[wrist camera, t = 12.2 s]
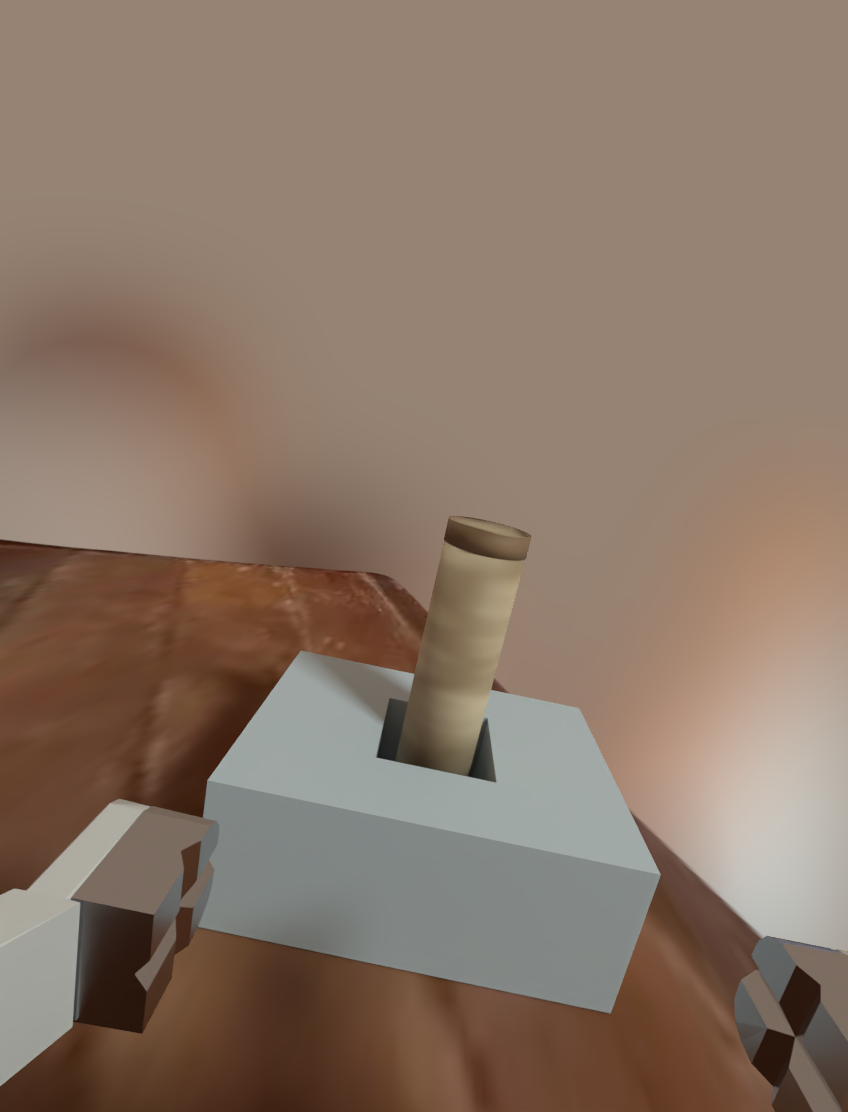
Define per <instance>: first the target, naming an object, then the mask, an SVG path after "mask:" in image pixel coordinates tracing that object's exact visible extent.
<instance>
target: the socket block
mask: <svg viewBox="0 0 848 1112" xmlns="http://www.w3.org/2000/svg"><path fill="white" fill-rule="evenodd" d="M413 678H414V674H411V673H406V672H401V671H397V670H392V669H387V668H382V667H377V666H372V665H368V664H363V663H358V662H353V661H348V660H343V659H339V658H334V657H329V656H324V655H319V654H314V653H310V652H305V651H300V653H299V654H298V655H297V657H296V658H295V659H294V661H293V662H292V664H291V665H290V666H289V668H288V669H287V671H286V672H285V673H284V675H283V676H282V677H281V679H280V680H279V682H278V683H277V684H276V686H275V687H274V689H273V690H272V691H271V693H270V694H269V696H268V697H267V698H266V700H265V701H264V702H263V704H262V705H261V707H260V708H259V709H258V711H257V712H256V714H255V715H254V716H253V718H252V719H251V721H250V722H249V723H248V725H247V726H246V727H245V729H244V730H243V732H242V733H241V734H240V736H239V737H238V739H237V740H236V741H235V743H234V744H233V746H232V747H231V748H230V750H229V751H228V752H227V754H226V755H225V757H224V758H223V759H222V761H221V762H220V764H219V765H218V766H217V768H216V769H215V771H214V772H213V773H212V775H211V776H210V777H209V779H208V780H207V788H206V796H205V805H204V813H203V818H205V819H209V820H214V821H217V823H218V824H219V836H218V844H217V846H216V848H215V850H214V851H213V853H212V855H211V857H210V858H209V861H210V863H211V864H212V866H213V868H214V876H213V883H212V887H211V891H210V895H209V899H208V902H207V905H206V908H205V910H204V913H203V915H202V918H201V921H200V923H199V926H198V927H201V928H206V929H210V930H215V931H220V932H225V933H230V934H234V935H239V936H244V937H249V938H253V939H258V940H263V941H268V942H272V943H277V944H282V945H287V946H291V947H296V948H301V949H306V950H311V951H315V952H320V953H325V954H330V955H334V956H339V957H344V958H349V959H353V960H358V961H363V962H368V963H372V964H377V965H382V966H387V967H392V968H396V969H401V970H406V971H411V972H415V973H420V974H425V975H430V976H434V977H439V978H444V979H449V980H453V981H458V982H463V983H468V984H473V985H477V986H482V987H487V988H492V989H496V990H501V991H506V992H511V993H515V994H520V995H525V996H530V997H534V998H539V999H544V1000H549V1001H554V1002H558V1003H563V1004H568V1005H573V1006H577V1007H582V1008H587V1009H592V1010H596V1011H601V1012H606V1013H611V1011H612V1008H613V1005H614V1003H615V1000H616V997H617V994H618V992H619V989H620V986H621V983H622V980H623V978H624V975H625V972H626V969H627V967H628V964H629V961H630V958H631V956H632V953H633V950H634V947H635V944H636V942H637V939H638V936H639V933H640V931H641V928H642V925H643V922H644V920H645V917H646V914H647V911H648V909H649V906H650V903H651V900H652V897H653V895H654V892H655V889H656V886H657V884H658V881H659V878H660V875H661V874H660V872H659V870H658V868H657V866H656V864H655V862H654V860H653V858H652V856H651V854H650V852H649V850H648V848H647V846H646V844H645V842H644V840H643V838H642V836H641V834H640V832H639V830H638V827H637V825H636V823H635V821H634V819H633V817H632V815H631V813H630V811H629V809H628V807H627V805H626V803H625V801H624V799H623V797H622V795H621V793H620V791H619V789H618V787H617V785H616V783H615V781H614V779H613V776H612V774H611V773H610V770H609V768H608V766H607V764H606V762H605V760H604V758H603V756H602V754H601V752H600V750H599V748H598V746H597V744H596V742H595V740H594V738H593V736H592V734H591V732H590V730H589V728H588V725H587V723H586V722H585V719H584V717H583V715H582V713H581V711H580V709H579V708H575V707H570V706H566V705H561V704H556V703H551V702H546V701H541V700H537V699H532V698H527V697H522V696H517V695H513V694H508V693H503V692H498V691H493V690H491V692H490V695H489V699H488V703H487V707H486V711H485V715H484V718H483V722H482V726H481V730H480V734H479V738H478V741H477V745H476V749H475V753H474V757H473V761H472V764H471V768H470V772H469V776H468V777H467V776H462V775H457V774H453V773H448V772H443V771H438V770H433V769H428V768H424V767H419V766H414V765H409V764H404V763H400V762H395V759H396V755H397V750H398V746H399V741H400V737H401V732H402V728H403V723H404V719H405V714H406V710H407V705H408V701H409V696H410V692H411V687H412V683H413Z"/></svg>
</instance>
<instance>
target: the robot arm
mask: <svg viewBox="0 0 848 1112" xmlns="http://www.w3.org/2000/svg"><path fill="white" fill-rule="evenodd" d="M218 836H219V824H218V823H217V821H214V820H209V819H205V818H201V817H197V816H193V815H188V814H184V813H180V812H176V811H171V810H167V809H163V808H159V807H155V806H152V807H150V806H146V805H142V804H138V803H134V802H130V801H126V800H122V799H118V800H116V801H114V802H112V803H110V804H108V805H107V806H106V807H105V808H104V809H103V810H102V811H101V812H100V813H99V814H98V815H97V817H96V818H95V819H94V820H93V821H92V822H91V823H90V824H89V825H88V826H87V827H86V828H85V829H84V830H83V831H82V832H81V833H80V834H79V835H78V836H77V837H76V838H75V840H74V841H73V842H72V843H71V844H70V845H69V846H68V847H67V848H66V849H65V850H64V851H63V852H62V853H61V854H60V855H59V856H58V857H57V858H56V859H55V860H54V862H53V863H52V864H51V865H50V866H49V867H48V868H47V869H46V870H45V871H44V872H43V873H42V874H41V875H40V876H39V877H38V878H37V879H36V880H35V881H34V882H33V884H32V885H31V886H30V887H29V888H28V889H27V890H21V889H15V888H14V889H12V890H10V891H8V892H6V893H3V894H1V895H0V1086H1V1085H2V1084H3V1083H5V1082H6V1081H7V1080H8V1079H10V1078H11V1077H12V1076H13V1075H14V1074H16V1073H17V1072H18V1071H19V1070H21V1069H22V1068H23V1067H24V1066H25V1065H27V1064H28V1063H29V1062H30V1061H32V1060H33V1059H34V1058H35V1057H36V1056H38V1055H39V1054H40V1053H41V1052H43V1051H44V1050H45V1049H46V1048H47V1047H49V1046H50V1045H51V1044H52V1043H54V1042H55V1041H56V1040H57V1039H58V1038H60V1037H61V1036H62V1035H63V1034H65V1033H66V1032H67V1031H68V1030H69V1029H71V1028H72V1026H73V1022H78V1023H84V1024H90V1025H95V1026H101V1027H107V1028H113V1029H118V1030H124V1031H130V1032H136V1033H143V1031H144V1029H145V1027H146V1026H147V1024H148V1022H149V1020H150V1018H151V1016H152V1014H153V1012H154V1010H155V1008H156V1007H157V1005H158V1003H159V1001H160V999H161V997H162V995H163V993H164V991H165V989H166V988H167V986H168V984H169V982H170V980H171V978H172V970H173V962H174V955H175V954H177V953H178V952H180V951H181V950H182V949H184V948H185V947H187V946H188V945H189V944H190V942H191V940H192V938H193V936H194V934H195V932H196V930H197V928H198V926H199V923H200V921H201V918H202V915H203V913H204V910H205V908H206V905H207V902H208V899H209V895H210V891H211V887H212V883H213V876H214V868H213V866H212V864H211V863H210V861H209V858H210V857H211V855H212V853H213V851H214V850H215V848H216V846H217V844H218ZM752 959H753V961H754V964H755V966H756V969H757V970H755V971H754V972H752V973H751V974H749V975H748V976H746V977H745V978H743V979H742V980H741V982H740V984H739V987H738V990H737V993H736V996H735V998H734V1000H735V1020H736V1025H737V1028H738V1032H739V1035H740V1039H741V1042H742V1044H743V1046H744V1048H745V1051H746V1053H747V1055H748V1057H749V1059H750V1061H751V1063H752V1064H753V1066H754V1067H755V1068H756V1069H757V1070H758V1071H759V1072H760V1073H761V1074H762V1075H763V1076H764V1077H765V1078H766V1079H767V1080H768V1082H769V1083H770V1084H771V1085H772V1086H773V1092H772V1106H773V1108H774V1110H775V1112H848V951H842V950H833V949H830V948H825V947H820V946H815V945H810V944H805V943H800V942H795V941H790V940H785V939H780V938H775V937H770V936H766V937H764V938H763V939H761V940H760V941H758V942H757V944H756V947H755V949H754V951H753V953H752Z"/></svg>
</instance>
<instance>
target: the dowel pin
mask: <svg viewBox="0 0 848 1112" xmlns="http://www.w3.org/2000/svg"><path fill="white" fill-rule="evenodd" d="M530 540H531V535H530V534H528V533H526V532H524V531H521V530H519V529H516V528H513V527H510V526H506V525H503V524H499V523H495V522H490V521H486V520H481V519H475V518H470V517H461V516H451V517H449V519H448V524H447V528H446V533H445V537H444V544H443V549H442V553H441V558H440V562H439V567H438V571H437V576H436V580H435V585H434V589H433V593H432V598H431V602H430V607H429V611H428V616H427V620H426V625H425V629H424V634H423V638H422V643H421V647H420V652H419V656H418V661H417V665H416V670H415V674H414V678H413V683H412V687H411V692H410V696H409V701H408V705H407V710H406V714H405V719H404V723H403V728H402V732H401V737H400V741H399V746H398V750H397V755H396V759H395V762H400V763H404V764H409V765H414V766H419V767H424V768H428V769H433V770H438V771H443V772H448V773H453V774H457V775H462V776H467V777H468V776H469V772H470V768H471V764H472V761H473V757H474V753H475V749H476V745H477V741H478V738H479V734H480V730H481V726H482V722H483V718H484V715H485V711H486V707H487V703H488V699H489V695H490V692H491V688H492V684H493V680H494V676H495V672H496V669H497V664H498V661H499V657H500V653H501V649H502V646H503V642H504V638H505V634H506V630H507V626H508V622H509V619H510V615H511V611H512V607H513V603H514V600H515V596H516V592H517V588H518V584H519V580H520V577H521V573H522V568H523V565H524V561H525V559H526V556H527V552H528V548H529V544H530Z"/></svg>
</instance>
